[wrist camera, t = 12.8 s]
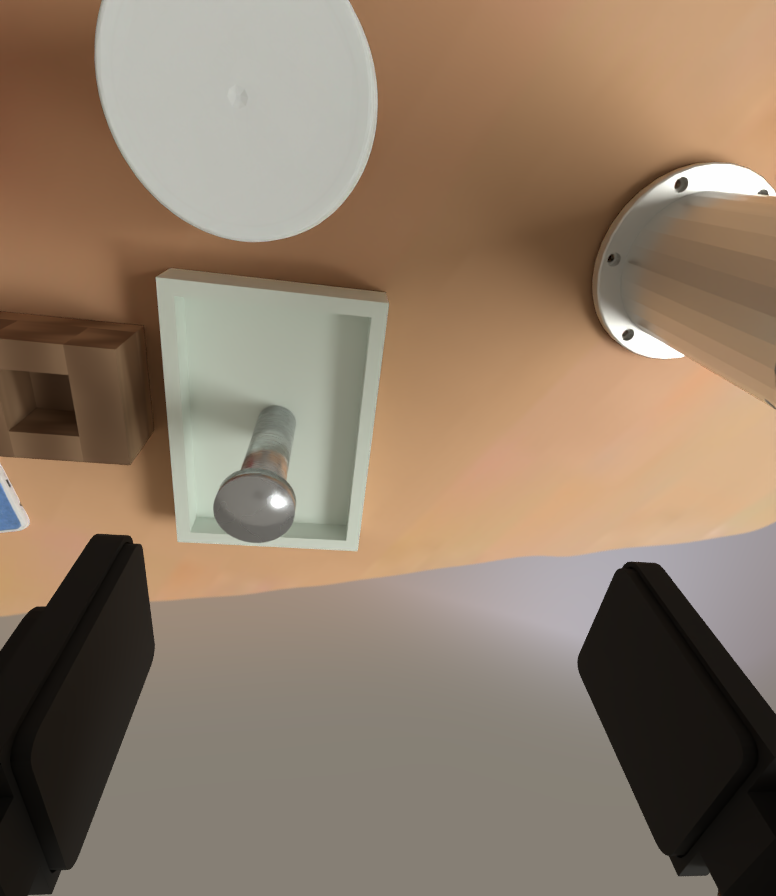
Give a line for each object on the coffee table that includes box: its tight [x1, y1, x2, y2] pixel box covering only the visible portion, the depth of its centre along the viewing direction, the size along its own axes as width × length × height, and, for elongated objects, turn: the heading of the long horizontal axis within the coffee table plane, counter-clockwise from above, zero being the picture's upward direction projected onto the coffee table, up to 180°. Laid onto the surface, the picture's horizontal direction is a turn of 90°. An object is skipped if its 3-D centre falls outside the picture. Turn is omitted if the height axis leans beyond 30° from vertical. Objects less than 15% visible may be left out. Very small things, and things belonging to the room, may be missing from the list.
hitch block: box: [0, 311, 154, 465], centre depth 34 cm, size 10×8×5 cm
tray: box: [156, 268, 389, 551], centre depth 38 cm, size 20×14×3 cm
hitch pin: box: [213, 405, 296, 543], centre depth 34 cm, size 4×4×11 cm
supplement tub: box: [94, 0, 378, 242], centre depth 24 cm, size 10×10×15 cm
